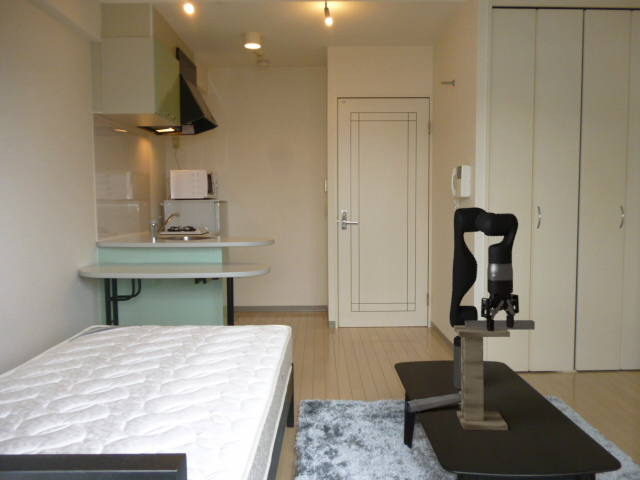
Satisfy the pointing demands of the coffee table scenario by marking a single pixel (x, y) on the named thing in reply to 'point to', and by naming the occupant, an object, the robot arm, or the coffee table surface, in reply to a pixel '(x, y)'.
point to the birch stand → (476, 381)
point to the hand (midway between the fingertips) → (500, 329)
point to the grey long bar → (500, 325)
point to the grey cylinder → (433, 402)
